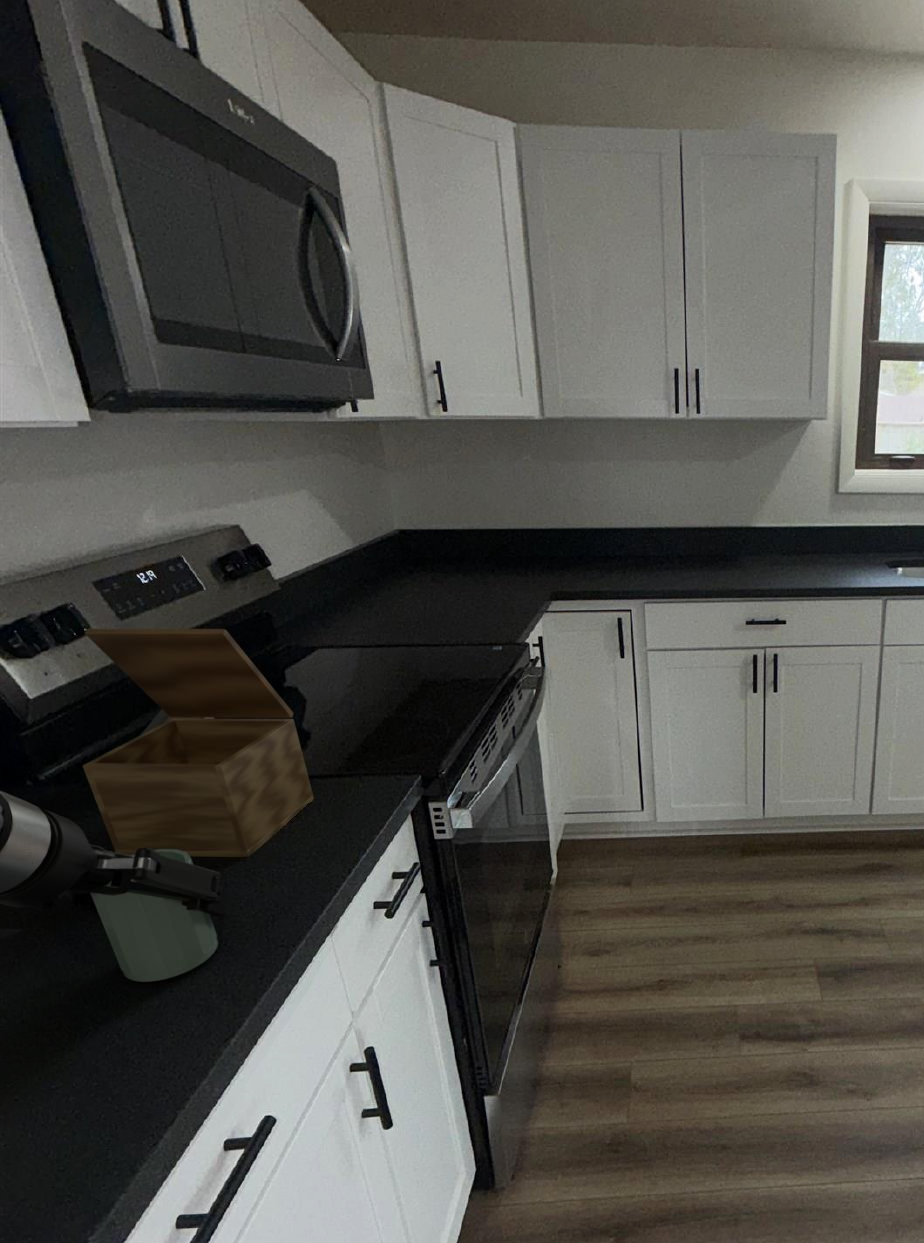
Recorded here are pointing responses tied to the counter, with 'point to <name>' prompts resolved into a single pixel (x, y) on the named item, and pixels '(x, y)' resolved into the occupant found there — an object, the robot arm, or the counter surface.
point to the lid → (192, 672)
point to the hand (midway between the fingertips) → (178, 906)
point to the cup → (156, 932)
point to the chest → (202, 786)
